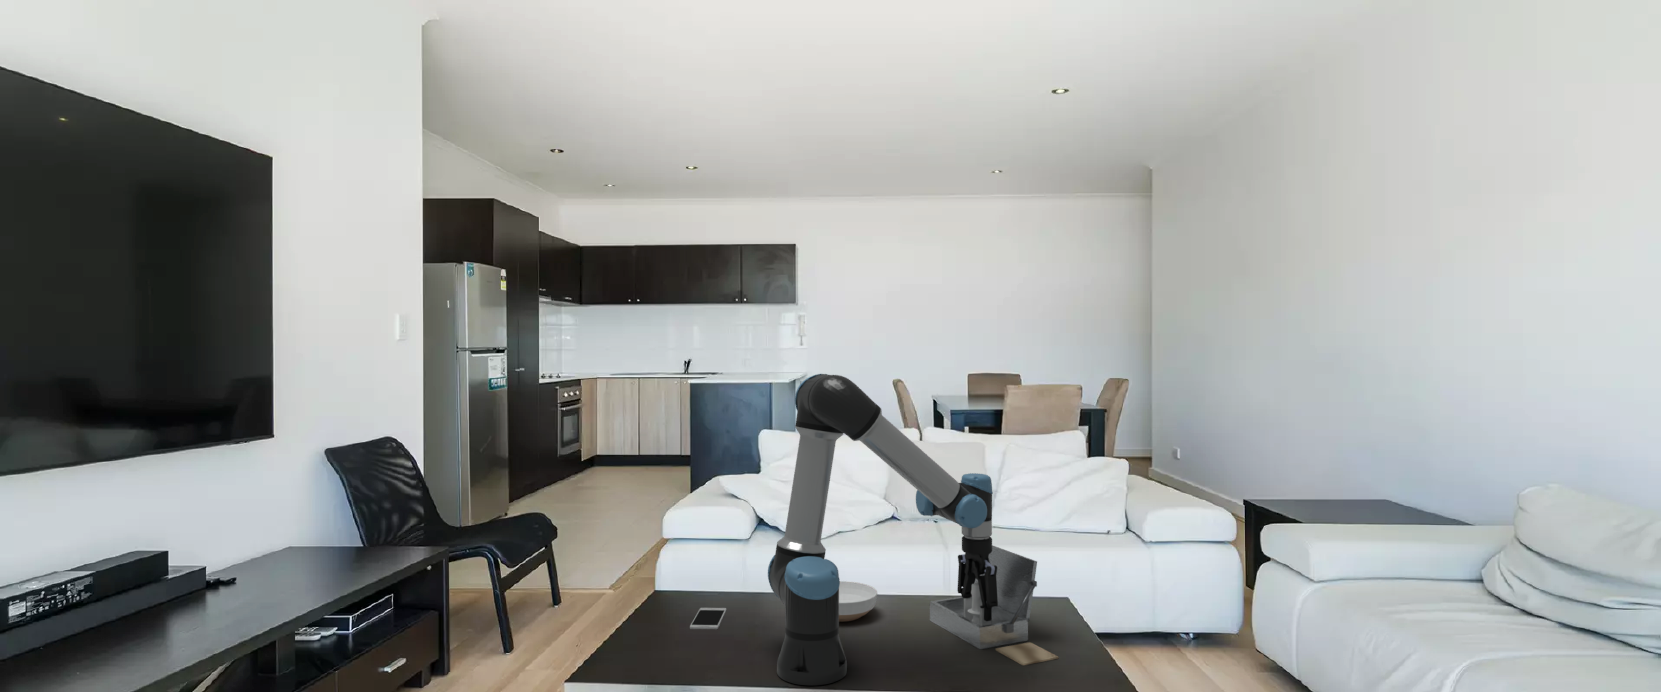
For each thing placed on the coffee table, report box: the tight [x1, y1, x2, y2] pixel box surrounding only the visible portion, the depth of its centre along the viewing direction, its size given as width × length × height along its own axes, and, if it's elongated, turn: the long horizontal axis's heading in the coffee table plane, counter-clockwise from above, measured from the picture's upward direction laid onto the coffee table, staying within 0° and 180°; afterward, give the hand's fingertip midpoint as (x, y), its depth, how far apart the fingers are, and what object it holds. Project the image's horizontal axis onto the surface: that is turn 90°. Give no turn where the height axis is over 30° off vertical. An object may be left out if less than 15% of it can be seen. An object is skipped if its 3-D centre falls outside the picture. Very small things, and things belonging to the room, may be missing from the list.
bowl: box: [839, 580, 878, 623], centre depth 206 cm, size 20×20×6 cm
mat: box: [995, 641, 1059, 666], centre depth 178 cm, size 10×10×1 cm
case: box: [929, 544, 1038, 650], centre depth 195 cm, size 17×23×19 cm
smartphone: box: [689, 607, 727, 630], centre depth 203 cm, size 7×16×1 cm, turn 179°
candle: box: [968, 582, 982, 625], centre depth 195 cm, size 5×5×12 cm
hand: (977, 628), depth 194 cm, fingers open, 6 cm apart
